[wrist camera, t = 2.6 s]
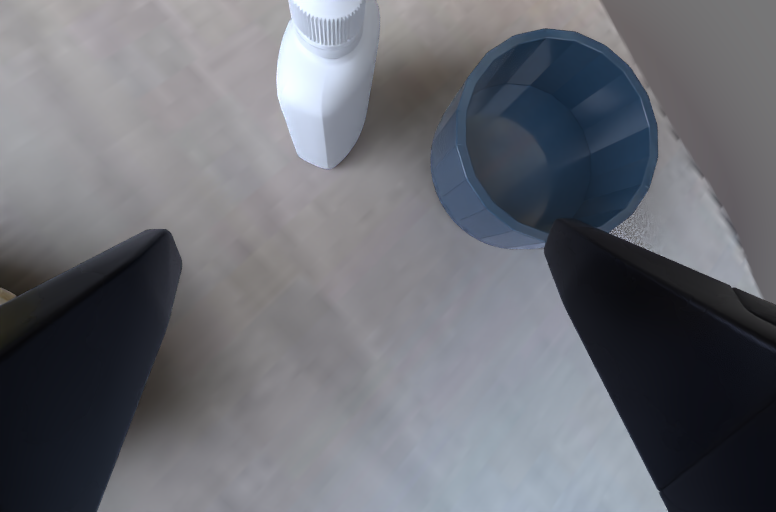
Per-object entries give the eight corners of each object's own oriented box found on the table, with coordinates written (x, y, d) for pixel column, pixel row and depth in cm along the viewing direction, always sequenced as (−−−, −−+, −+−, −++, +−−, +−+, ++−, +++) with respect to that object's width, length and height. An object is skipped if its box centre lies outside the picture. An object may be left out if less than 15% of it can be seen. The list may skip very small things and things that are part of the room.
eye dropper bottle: (270, 120, 21) (179, -79, 9) (348, 67, 22) (359, -181, 10) (316, 181, 21) (287, 66, 9) (392, 127, 22) (457, -45, 10)
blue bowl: (494, 283, 22) (539, 286, 17) (396, 138, 22) (412, 99, 17) (620, 188, 24) (695, 166, 19) (530, 51, 23) (582, -9, 18)
